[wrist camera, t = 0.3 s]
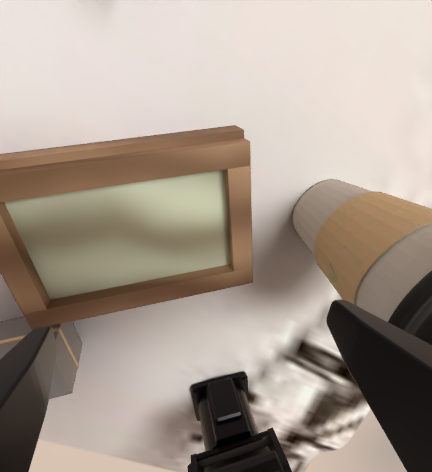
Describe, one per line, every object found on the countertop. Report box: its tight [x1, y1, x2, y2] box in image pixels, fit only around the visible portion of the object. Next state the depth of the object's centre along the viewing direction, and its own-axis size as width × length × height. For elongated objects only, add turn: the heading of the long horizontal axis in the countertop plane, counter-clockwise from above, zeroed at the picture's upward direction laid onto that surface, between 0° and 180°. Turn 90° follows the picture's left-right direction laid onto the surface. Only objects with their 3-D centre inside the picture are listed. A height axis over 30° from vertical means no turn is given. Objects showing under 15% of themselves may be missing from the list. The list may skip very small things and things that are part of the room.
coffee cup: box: [293, 179, 432, 345], centre depth 19 cm, size 9×9×15 cm
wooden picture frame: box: [0, 125, 253, 329], centre depth 21 cm, size 12×16×3 cm
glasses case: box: [0, 317, 82, 399], centre depth 23 cm, size 4×10×5 cm, turn 95°
